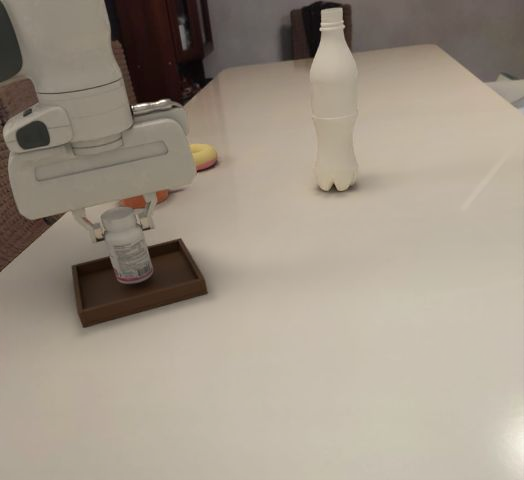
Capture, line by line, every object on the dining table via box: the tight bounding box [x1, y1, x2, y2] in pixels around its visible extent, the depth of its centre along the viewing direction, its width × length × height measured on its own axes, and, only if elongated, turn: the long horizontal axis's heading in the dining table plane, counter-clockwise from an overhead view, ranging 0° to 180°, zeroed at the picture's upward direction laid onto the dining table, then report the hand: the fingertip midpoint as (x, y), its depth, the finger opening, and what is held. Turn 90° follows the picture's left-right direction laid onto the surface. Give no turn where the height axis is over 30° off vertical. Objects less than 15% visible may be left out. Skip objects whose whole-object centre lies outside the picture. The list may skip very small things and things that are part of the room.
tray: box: [71, 237, 208, 328], centre depth 68 cm, size 15×13×2 cm
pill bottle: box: [100, 206, 153, 284], centre depth 65 cm, size 5×5×8 cm
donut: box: [189, 143, 218, 172], centre depth 105 cm, size 10×5×9 cm
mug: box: [119, 189, 170, 209], centre depth 93 cm, size 12×9×5 cm
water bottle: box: [308, 7, 359, 192], centre depth 81 cm, size 7×7×25 cm
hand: (123, 234), depth 64 cm, fingers closed on pill bottle, 5 cm apart
